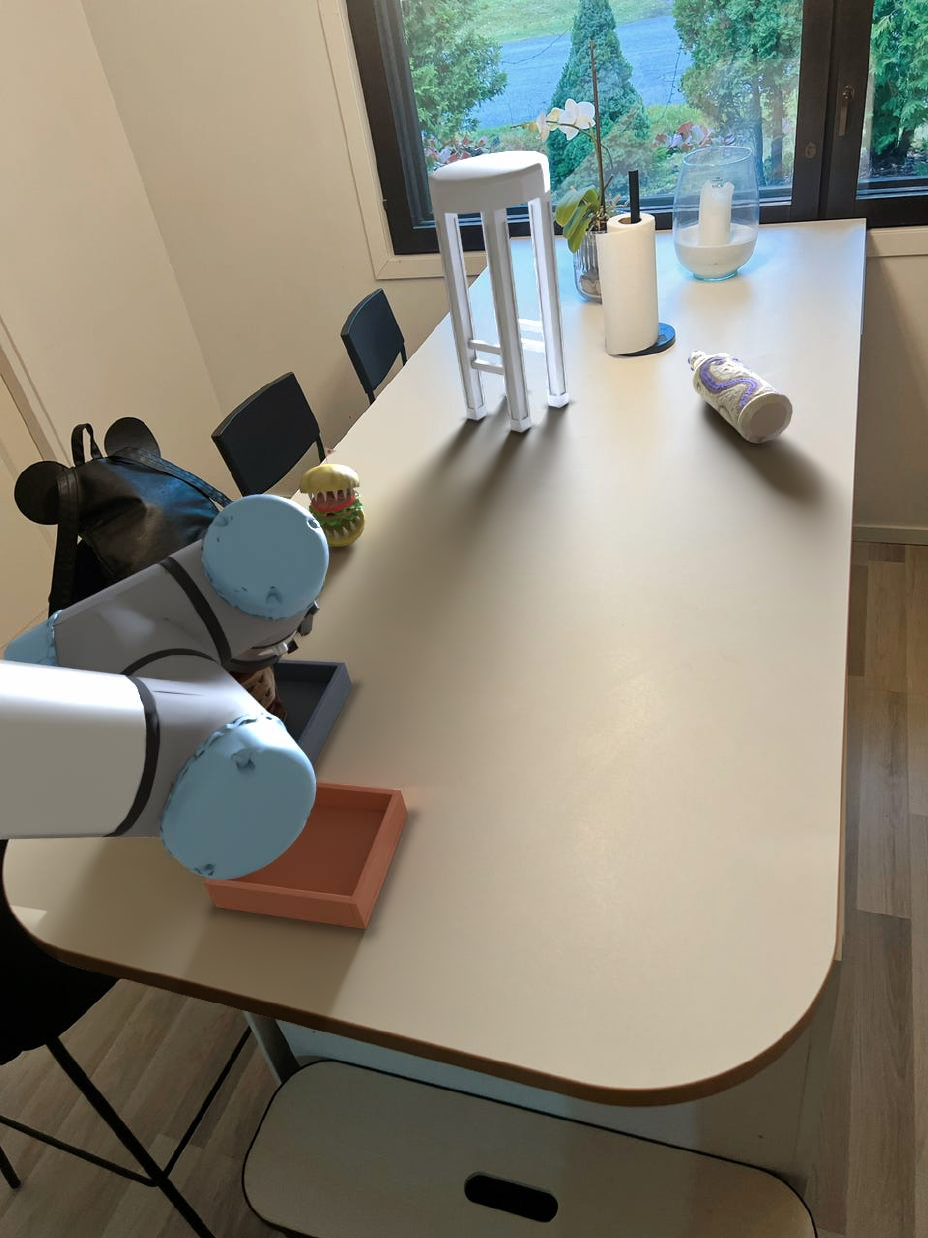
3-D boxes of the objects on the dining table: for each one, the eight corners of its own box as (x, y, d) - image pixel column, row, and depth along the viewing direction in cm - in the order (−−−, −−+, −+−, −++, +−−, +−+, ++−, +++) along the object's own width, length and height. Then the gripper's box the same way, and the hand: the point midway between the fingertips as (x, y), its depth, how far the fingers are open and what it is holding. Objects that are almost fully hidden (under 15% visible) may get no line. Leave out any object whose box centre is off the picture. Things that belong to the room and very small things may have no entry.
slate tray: (157, 777, 84) (145, 754, 82) (224, 678, 95) (214, 655, 93) (300, 791, 80) (290, 767, 78) (353, 686, 90) (345, 662, 88)
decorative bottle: (794, 437, 116) (798, 390, 112) (740, 450, 116) (741, 403, 112) (718, 368, 137) (718, 326, 133) (671, 379, 136) (670, 337, 132)
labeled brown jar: (310, 730, 85) (272, 625, 77) (230, 770, 82) (182, 665, 74) (280, 683, 91) (242, 582, 83) (205, 719, 88) (158, 618, 81)
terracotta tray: (216, 907, 71) (202, 883, 69) (272, 800, 79) (262, 776, 77) (366, 929, 67) (356, 904, 65) (408, 815, 75) (401, 789, 73)
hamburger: (309, 554, 112) (283, 471, 105) (321, 524, 118) (297, 444, 110) (367, 549, 111) (345, 465, 104) (377, 519, 116) (356, 437, 109)
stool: (513, 382, 145) (483, 149, 124) (587, 398, 135) (569, 149, 114) (449, 420, 137) (405, 178, 116) (523, 441, 128) (490, 181, 106)
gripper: (146, 728, 61) (151, 765, 82) (387, 593, 69) (336, 657, 90) (91, 638, 62) (109, 697, 82) (337, 514, 70) (297, 596, 91)
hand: (228, 676), depth 86 cm, fingers closed on labeled brown jar, 8 cm apart
